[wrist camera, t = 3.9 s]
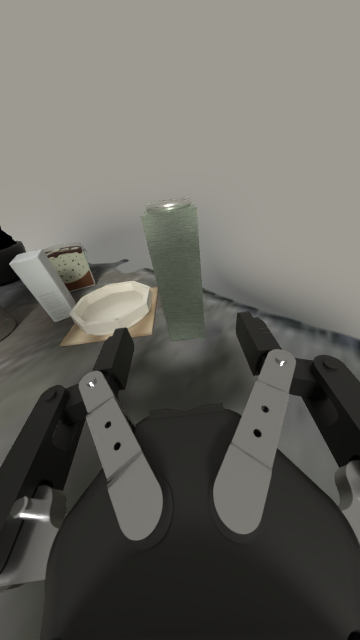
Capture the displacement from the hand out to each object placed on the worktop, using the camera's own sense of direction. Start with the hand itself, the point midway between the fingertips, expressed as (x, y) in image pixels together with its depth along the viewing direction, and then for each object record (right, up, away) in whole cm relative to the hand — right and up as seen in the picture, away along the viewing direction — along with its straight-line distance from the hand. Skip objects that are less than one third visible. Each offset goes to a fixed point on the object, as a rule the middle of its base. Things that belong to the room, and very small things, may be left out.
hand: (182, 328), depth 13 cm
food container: (-28, +10, +34) cm, 45 cm away
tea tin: (+1, -1, +14) cm, 14 cm away
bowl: (-12, +2, +21) cm, 24 cm away
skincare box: (-24, +2, +24) cm, 34 cm away
